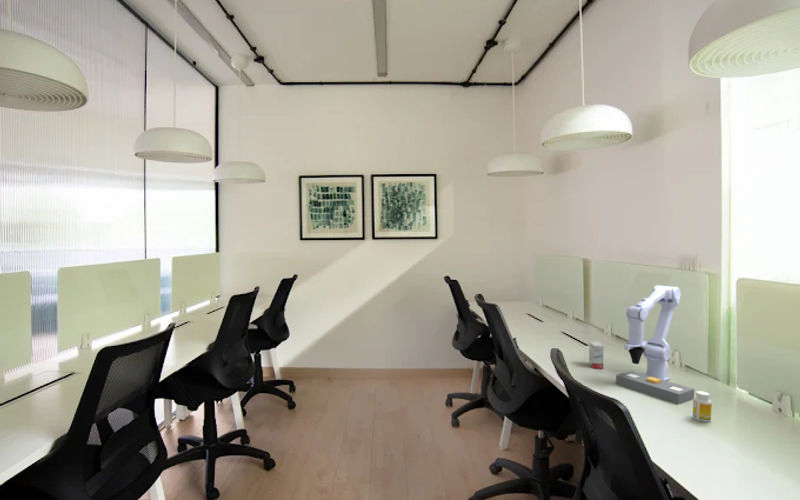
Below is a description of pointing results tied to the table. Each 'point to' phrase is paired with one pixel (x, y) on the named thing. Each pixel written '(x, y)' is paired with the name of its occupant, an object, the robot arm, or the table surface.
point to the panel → (655, 387)
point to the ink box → (596, 355)
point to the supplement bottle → (702, 406)
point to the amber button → (653, 380)
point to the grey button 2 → (676, 388)
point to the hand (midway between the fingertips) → (635, 363)
